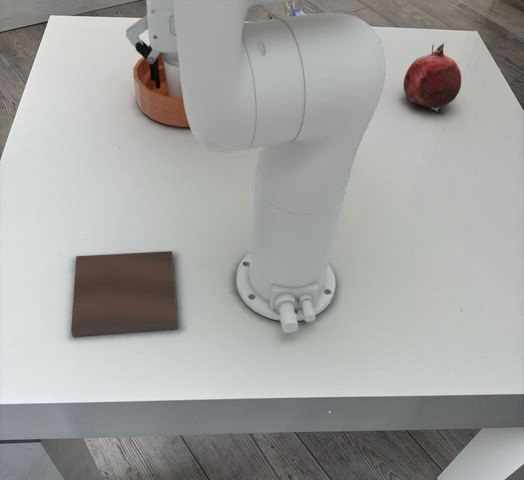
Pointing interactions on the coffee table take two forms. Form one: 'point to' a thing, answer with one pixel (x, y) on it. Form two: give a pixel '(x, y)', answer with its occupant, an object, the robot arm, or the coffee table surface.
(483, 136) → the coffee table surface
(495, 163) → the coffee table surface
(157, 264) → the pad
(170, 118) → the bowl
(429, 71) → the fruit
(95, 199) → the coffee table surface
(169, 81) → the white cup
